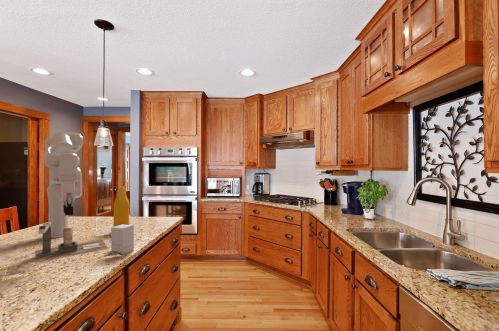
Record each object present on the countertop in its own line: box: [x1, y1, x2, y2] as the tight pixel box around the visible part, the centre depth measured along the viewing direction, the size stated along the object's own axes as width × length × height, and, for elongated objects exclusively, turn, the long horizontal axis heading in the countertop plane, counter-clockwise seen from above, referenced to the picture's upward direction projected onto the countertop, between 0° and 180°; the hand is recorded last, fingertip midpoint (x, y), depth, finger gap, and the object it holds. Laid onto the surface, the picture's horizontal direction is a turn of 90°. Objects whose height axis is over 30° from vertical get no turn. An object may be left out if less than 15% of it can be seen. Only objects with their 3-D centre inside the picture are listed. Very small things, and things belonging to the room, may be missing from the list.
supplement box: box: [110, 224, 135, 255], centre depth 122 cm, size 7×7×13 cm
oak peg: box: [62, 226, 74, 246], centre depth 120 cm, size 4×4×11 cm
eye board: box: [34, 227, 110, 263], centre depth 121 cm, size 20×28×14 cm
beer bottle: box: [113, 186, 130, 227], centre depth 161 cm, size 9×9×29 cm
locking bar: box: [38, 221, 51, 235], centre depth 109 cm, size 16×3×3 cm, turn 33°
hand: (68, 213), depth 120 cm, fingers open, 9 cm apart
